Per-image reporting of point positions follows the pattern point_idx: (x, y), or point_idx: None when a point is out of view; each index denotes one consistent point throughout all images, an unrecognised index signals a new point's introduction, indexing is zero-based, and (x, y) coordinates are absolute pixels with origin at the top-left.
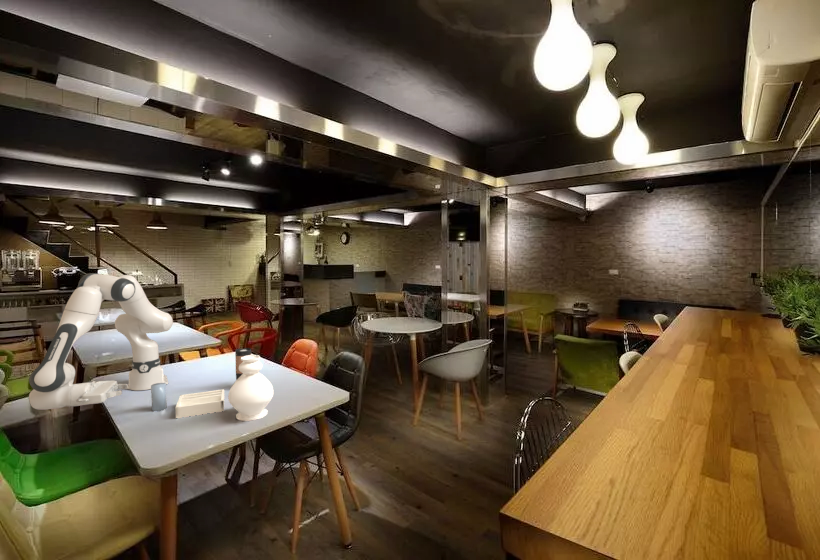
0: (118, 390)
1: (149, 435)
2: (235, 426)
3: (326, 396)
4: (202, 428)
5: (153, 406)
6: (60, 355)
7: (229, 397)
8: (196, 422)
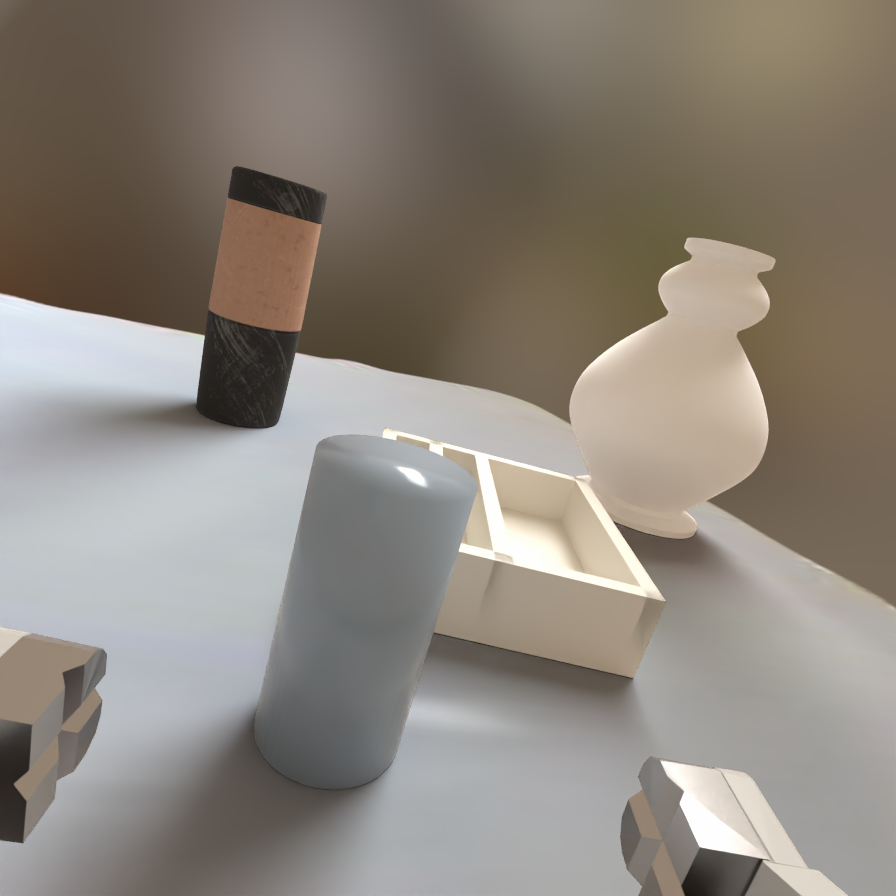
0: (684, 808)
1: None
2: (750, 560)
3: (514, 407)
4: (783, 626)
5: (392, 727)
6: None
7: (734, 447)
8: (704, 624)
